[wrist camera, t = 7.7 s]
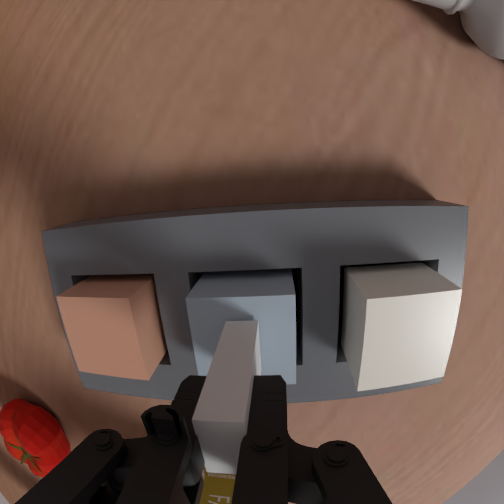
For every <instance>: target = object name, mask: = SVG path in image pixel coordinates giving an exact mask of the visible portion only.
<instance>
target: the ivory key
mask: <svg viewBox="0 0 504 504" xmlns="http://www.w3.org/2000/svg"><path fill="white" fill-rule="evenodd" d="M461 294H462V289H461V288H460V287H458V286H457V285H455V284H454V283H452V282H451V281H449V280H448V279H446V278H445V277H443V276H442V275H440V274H439V273H437V272H436V271H434V270H433V269H431V268H430V267H428V266H427V265H425V264H424V263H422V262H419V263H404V264H389V265H373V266H357V267H344V293H343V318H342V336H341V346H342V349H343V351H344V354H345V357H346V360H347V363H348V366H349V369H350V371H351V374H352V377H353V380H354V383H355V386H356V389H357V391H365V390H372V389H379V388H386V387H392V386H398V385H404V384H410V383H415V382H420V381H425V380H430V379H434V378H439V377H443V376H444V373H445V369H446V365H447V362H448V358H449V354H450V350H451V346H452V341H453V337H454V332H455V328H456V323H457V318H458V312H459V307H460V301H461Z"/></svg>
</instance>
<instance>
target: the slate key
mask: <svg viewBox="0 0 504 504" xmlns="http://www.w3.org/2000/svg"><path fill="white" fill-rule="evenodd" d="M186 305H187V312H188V318H189V324H190V330H191V336H192V342H193V348H194V354H195V359H196V365H197V370H198V375H199V376H207V374H208V371H209V368H210V365H211V362H212V360H213V357H214V354H215V351H216V348H217V345H218V342H219V339H220V336H221V333H222V331H223V328H224V325H225V322H226V321H252V320H258V323H259V338H260V353H261V368H262V369H261V375H281V376H282V378H283V379H284V380H285V382H286V384H296V297H295V289H294V283H293V276H292V270H291V268H283V269H261V270H238V271H213V272H204V273H203V275H202V276H201V278H200V279H199V280H198V282H197V283H196V284H195V286H194V287H193V288H192V290H191V291H190V293H189V294H188V295H187V297H186Z"/></svg>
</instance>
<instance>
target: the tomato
mask: <svg viewBox="0 0 504 504" xmlns="http://www.w3.org/2000/svg"><path fill="white" fill-rule="evenodd" d="M0 432H1V435H2V436H3V437H4V442H5V445H6V447H7V450H8V451H9V452H10V454H11V455H12V456H13V457H15V458H17V459H18V460H20V461H21V464H22V463H23V462H24V463H26V464H28V465H29V468H30V470H31V471H32V472H33V473H34V475H37V476H41V477H45V476H46V475H47V474H48V473H49V472H50V471H51V470H52V469H53V468H54V467H56V466H57V465H58V464H59V463H60V462H61V461H62V460H63V459H64V458H65V457H66V456H67V455H68V454H70V443H69V441H68V439H67V437H66V435H65V434H64V432H63V429H62V427H61V425H60V423H59V422H58V421H57V420H56V419H55V418H54V416H53V415H52V414H50V413H49V412H48V411H46V410H45V409H44V408H42V407H39V406H36V405H33V404H31V403H29V402H27V401H25V400H23V399H14V400H12V401H10V402H8V403H7V404H5V405H4V406H3V408H2V410H1V411H0Z"/></svg>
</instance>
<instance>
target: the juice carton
mask: <svg viewBox="0 0 504 504" xmlns="http://www.w3.org/2000/svg"><path fill="white" fill-rule="evenodd" d="M202 476H203V479H204V486H203V490H202V494H201V499H200V503H199V504H231V502H232V496H233V490H234V483H235V477H236V474H224V473H210V472H207V471H206V468H205V465H204V468H203V472H202Z"/></svg>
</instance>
